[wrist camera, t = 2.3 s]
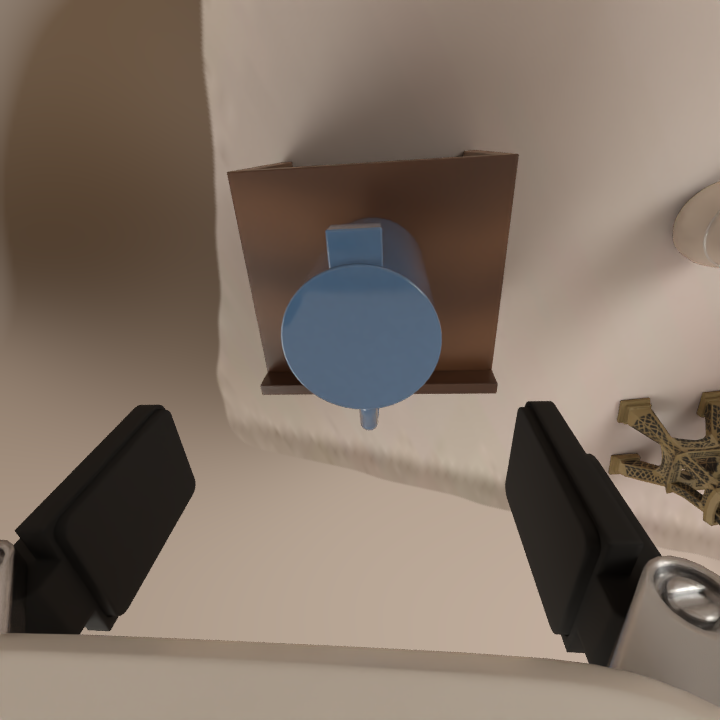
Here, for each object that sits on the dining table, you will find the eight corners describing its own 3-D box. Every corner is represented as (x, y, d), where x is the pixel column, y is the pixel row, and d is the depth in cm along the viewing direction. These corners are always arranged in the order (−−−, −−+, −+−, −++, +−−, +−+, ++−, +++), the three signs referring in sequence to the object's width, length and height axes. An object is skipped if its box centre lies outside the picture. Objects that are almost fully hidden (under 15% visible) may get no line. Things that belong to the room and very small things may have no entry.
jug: (313, 198, 22) (261, 234, 13) (426, 191, 21) (448, 225, 13) (330, 354, 27) (300, 455, 18) (422, 353, 26) (436, 456, 18)
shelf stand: (280, 162, 32) (213, 174, 20) (476, 149, 31) (529, 154, 19) (302, 317, 39) (262, 395, 27) (463, 313, 37) (496, 393, 25)
